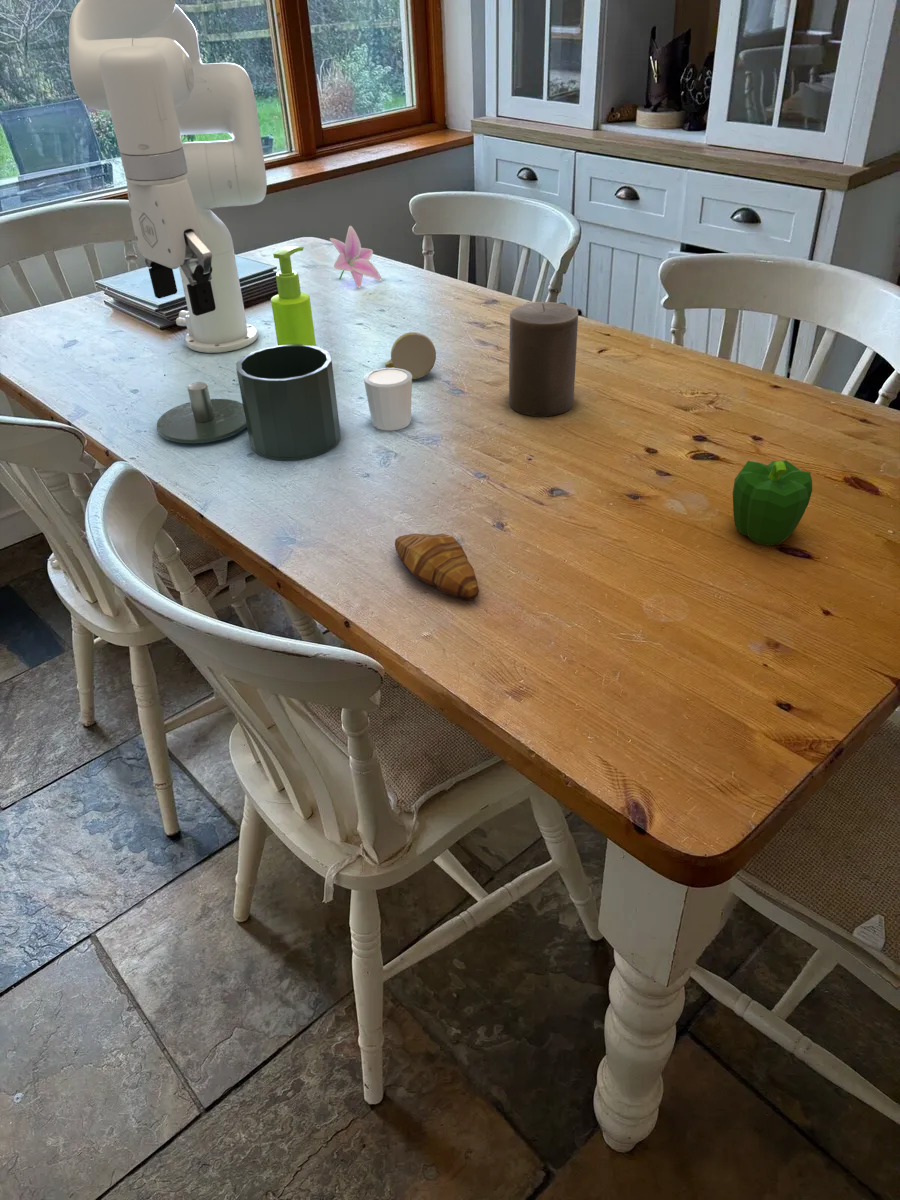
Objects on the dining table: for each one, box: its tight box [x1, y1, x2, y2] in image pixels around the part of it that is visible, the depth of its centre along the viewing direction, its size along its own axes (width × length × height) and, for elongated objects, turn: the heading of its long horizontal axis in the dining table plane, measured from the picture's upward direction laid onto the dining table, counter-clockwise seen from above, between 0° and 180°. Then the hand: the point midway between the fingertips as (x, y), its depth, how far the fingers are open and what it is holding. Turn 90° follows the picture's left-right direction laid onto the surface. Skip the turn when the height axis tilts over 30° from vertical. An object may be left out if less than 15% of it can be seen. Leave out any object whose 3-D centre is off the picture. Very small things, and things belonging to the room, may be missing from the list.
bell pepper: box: [732, 459, 813, 546], centre depth 98 cm, size 8×8×10 cm
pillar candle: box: [508, 301, 579, 418], centre depth 126 cm, size 10×10×15 cm
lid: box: [156, 381, 247, 444], centre depth 126 cm, size 14×14×6 cm
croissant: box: [394, 533, 480, 601], centre depth 95 cm, size 14×7×5 cm, turn 39°
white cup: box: [363, 367, 413, 432], centre depth 125 cm, size 7×7×7 cm
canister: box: [235, 344, 341, 462], centre depth 120 cm, size 13×13×12 cm
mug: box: [384, 331, 437, 380], centre depth 140 cm, size 8×10×10 cm
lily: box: [329, 225, 383, 289], centre depth 178 cm, size 12×12×10 cm
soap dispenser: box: [270, 245, 317, 347], centre depth 135 cm, size 6×7×20 cm
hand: (185, 303), depth 118 cm, fingers open, 9 cm apart
